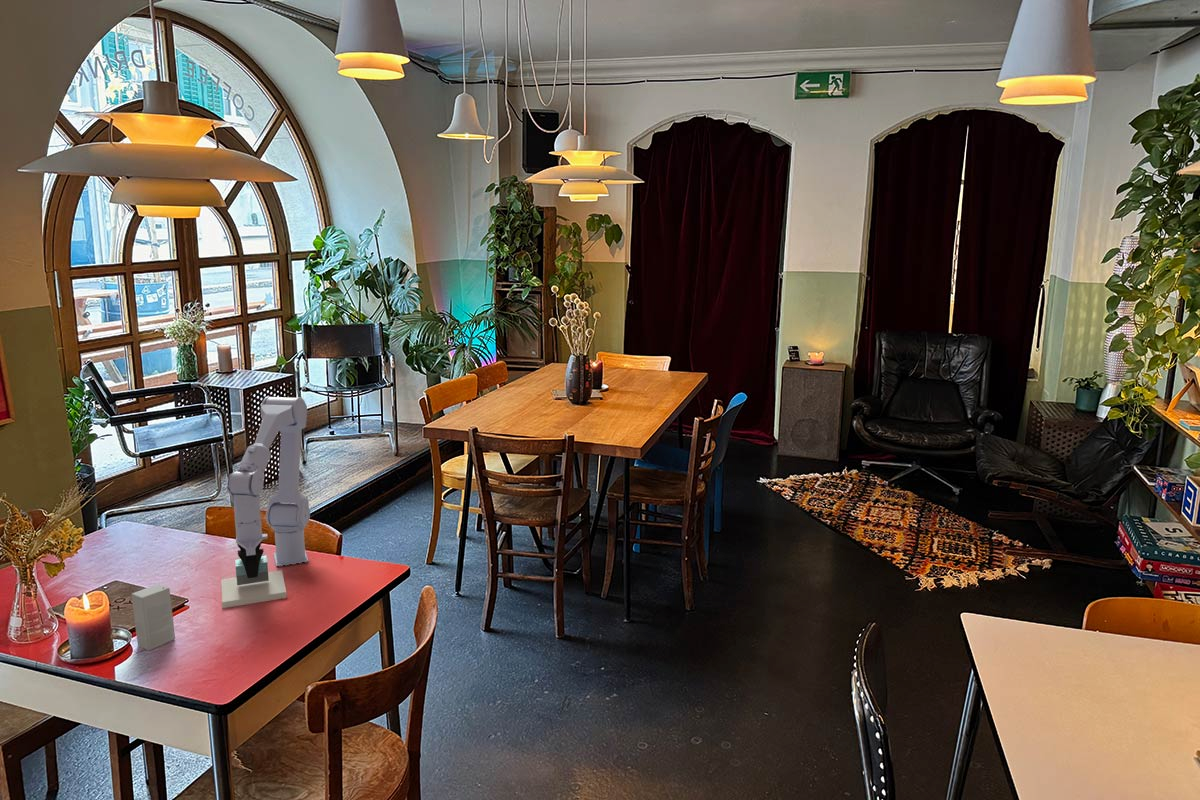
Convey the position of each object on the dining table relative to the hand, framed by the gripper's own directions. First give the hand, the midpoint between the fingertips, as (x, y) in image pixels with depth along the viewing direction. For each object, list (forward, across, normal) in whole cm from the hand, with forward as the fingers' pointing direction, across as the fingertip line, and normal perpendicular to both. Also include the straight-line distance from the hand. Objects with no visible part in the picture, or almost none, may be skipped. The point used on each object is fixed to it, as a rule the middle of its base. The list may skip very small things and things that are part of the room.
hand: (252, 573), depth 197 cm
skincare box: (+5, -19, +20) cm, 28 cm away
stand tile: (+5, 0, 0) cm, 5 cm away
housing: (+2, 0, 0) cm, 2 cm away
